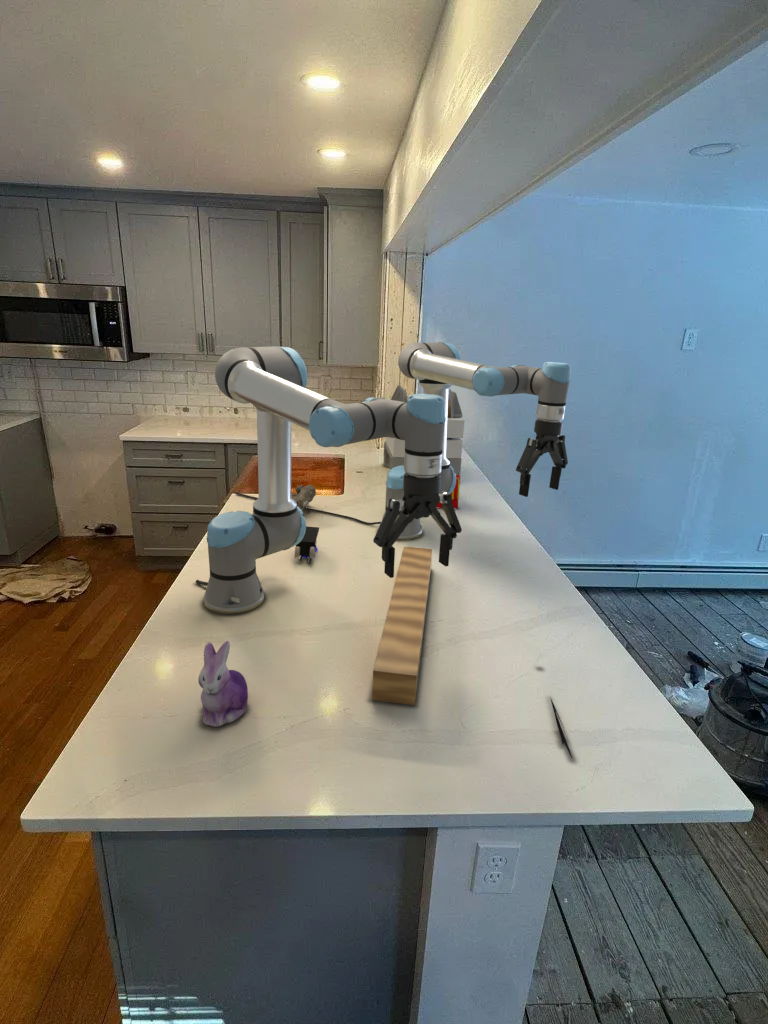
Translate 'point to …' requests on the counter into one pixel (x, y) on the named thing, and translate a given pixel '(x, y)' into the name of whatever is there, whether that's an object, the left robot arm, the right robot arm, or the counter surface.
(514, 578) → the counter surface
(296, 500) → the fossil
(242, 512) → the left robot arm
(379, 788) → the counter surface
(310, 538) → the figurine character
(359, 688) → the counter surface
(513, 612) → the counter surface
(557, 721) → the feather
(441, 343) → the right robot arm
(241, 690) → the figurine
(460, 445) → the white slatted crate
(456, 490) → the toy
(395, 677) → the wide beam
